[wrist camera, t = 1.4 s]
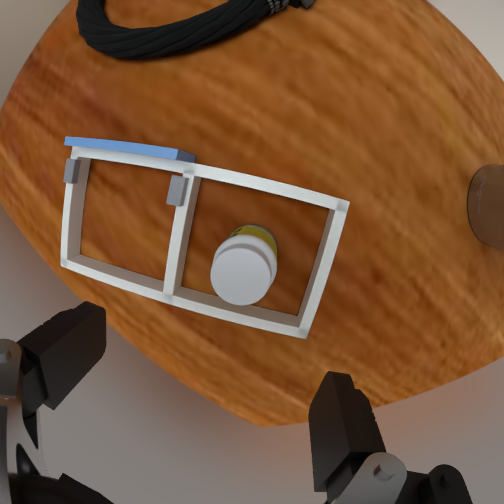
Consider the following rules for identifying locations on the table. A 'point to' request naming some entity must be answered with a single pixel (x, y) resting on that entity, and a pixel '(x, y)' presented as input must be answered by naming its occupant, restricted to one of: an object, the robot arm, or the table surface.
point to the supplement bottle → (245, 265)
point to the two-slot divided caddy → (185, 199)
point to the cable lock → (172, 28)
